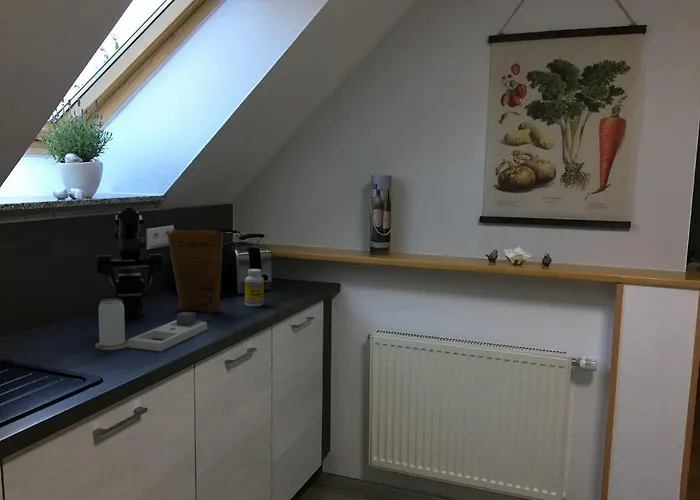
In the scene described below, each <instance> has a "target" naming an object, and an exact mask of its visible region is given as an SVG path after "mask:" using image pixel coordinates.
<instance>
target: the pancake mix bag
mask: <svg viewBox="0 0 700 500" xmlns="http://www.w3.org/2000/svg"><path fill="white" fill-rule="evenodd" d="M167 233H168V234H167V239H168V245H169V250H170V259H171V263H172V270H173V275H174V279H175V289H176V292H177V297H178V302H177V309H179V310H180V311H186V312H203V313H218V312H222V308H221V299H220V298H221V297H220V295H221V293H220V291H221V281H222V280H221V276H222V269H223V266H222V265H223V264H222V263H223V247H224V245H223V244H224V243H223V242H224V241H223V240H224V232H222V231H220V230H209V229H207V230H206V229H198V230H197V229H196V230H195V229H194V230H192V229H191V230H186V229H184V230H183V229H182V230H181V229H180V230H178V229H173V230H171V232H167Z"/></svg>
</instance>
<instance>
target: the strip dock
mask: <svg viewBox="0 0 700 500" xmlns="http://www.w3.org/2000/svg"><path fill="white" fill-rule="evenodd" d="M207 330H208V322H203V320H196V322H195V323H192V324H190V325H183V324H177V319H175V320H173V321H170V322H168V323H165V324H163V325H160V326H157V327H155V328H153V329H151V330H148V331H146V332H142V333H141V334H138V335H135V336H133V337H130V338H129V339H127V340H128V341H129V346H128V348H131V349H138V350H139V349H140V350H148V351H156V352H163V351H164V350H167V349H169V348H170V347H173V346H175V345H177V344H179V343H181V342H183V341H186V340H188V339H190V338H192V337H195V336H196V335H198V334H201V333H203V332H204V331H207ZM156 339H159V340H156Z"/></svg>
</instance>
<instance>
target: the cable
mask: <svg viewBox="0 0 700 500" xmlns="http://www.w3.org/2000/svg"><path fill="white" fill-rule="evenodd" d="M211 320H213V316H209V317H208V318H205V319H203V320H202V321H203V322H207V323H209V322H210V321H211Z"/></svg>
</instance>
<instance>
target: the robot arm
mask: <svg viewBox="0 0 700 500" xmlns="http://www.w3.org/2000/svg"><path fill="white" fill-rule="evenodd" d="M144 223H145V222H144V218H143V217H142V215H141V214H140V212H139V211H136V210H133V206H131V207H128V206H125V210H122V211H118V212H117V214H116V215H115V226H117V227H116V230H115V229H114V238H115V237H116V238H117V243H116V244H117V247H118V248H117V249H118V250H119V258H120V259H112V255H98V256H97V257H96V269H97V270H96V272H97V274H101V275H102V276H105V277H106V278H107V279H108V281H110V284H111V286H112V287H113V289H116V290H115V292H116V293H115V294H116V299H121V300H122V303H123V305H124V318H127V319H134V318H137V317H140V316H143V315H145V311H143V302H142V299H143V298H145V297H147V294H146V293H147V291H146V290H147V289H146V287H148V288H149V287H150V285H151V283H152V280H153V277H154V276H155V275H156V274H158V273H159V272H163V270H164V255H163V254H162V253H156V254H155V253H153V254H151V253H150V254H149V257H148V258H146V259H141V258H142V252H141V250H146V248H147V245H146V244H147V242H146V241H147V240H146V237H141V228H140V227H142V225H143V224H144ZM116 234H117V235H116ZM117 267H119V268H120V269H119V270H118V274H117V277H118V279H116V277H115V271H114V268H117ZM121 267H122V268H121ZM138 267H140V268H141V267H148V272H147V281H146V282H147V283H146V282H145V281H144V279H143V278H142V273H141V270H140V268H138Z"/></svg>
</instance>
